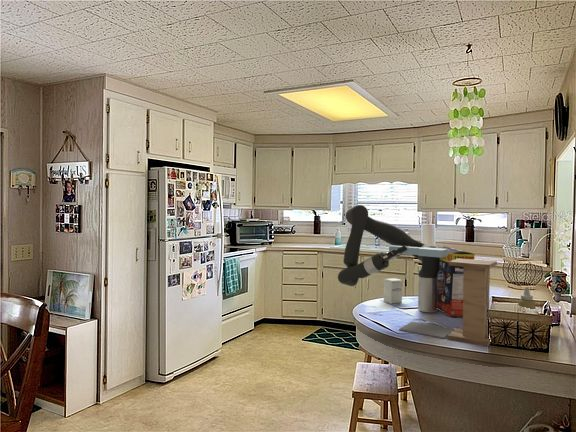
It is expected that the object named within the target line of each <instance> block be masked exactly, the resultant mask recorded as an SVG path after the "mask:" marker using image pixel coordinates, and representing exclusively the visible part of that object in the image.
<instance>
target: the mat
mask: <svg viewBox="0 0 576 432" xmlns="http://www.w3.org/2000/svg"><path fill="white" fill-rule="evenodd" d="M455 329H456V328H453V327H448V326H447V327H446V326H441V325H435V324H430V323H429V324H428V323H423V322H416V321H410V322H408V323H407V324H405V325H404V326H402V327H400V328H399V329H398V330H399V331H400V332H406V333H407V332H408V333H410V334H411V333H412V334H418V335H422V336H428V337H433V338H439V339H446V338H448V334H450V333H451V332H452V331H453V330H455Z"/></svg>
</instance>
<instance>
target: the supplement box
mask: <svg viewBox="0 0 576 432" xmlns="http://www.w3.org/2000/svg"><path fill="white" fill-rule="evenodd" d="M383 302H385V303H389V304H390V305H391V304H398V303H399V304H401V303H402V302H403V279H399V278H396V277H394V278H392V277H391V278H384V279H383Z"/></svg>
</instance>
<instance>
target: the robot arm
mask: <svg viewBox="0 0 576 432" xmlns="http://www.w3.org/2000/svg"><path fill="white" fill-rule="evenodd" d="M345 218H346V221H347V222H348V223H349V224H350V225H351V229H350V233H349V236H348V239H347V242H346V244H345V248H344V254H343V259H342V260H343V264H344V265H345V266H346V267H344V268H343V269H342V270H340V271H339V272H338V273H337V280H338V282H339V283H340V284H343V285H345V286H349V287H355V286H356V285H357V284H358V282H359V279H366V278H368V277H369V276H371V275H373V274H376V273H378V272H381V271H383V270H385V269H386V268H388V267H389V266H390V263H389V262H392V261H394V260H395V259H398V258H399V257H401V256H402V255H403V254H400V253H402V252H404V251H406V250H407V247H421V248H424V247H428V248H437V247H436V246H433V245H429V244H425V243H423V242H420V241H418V240H415V238H412V237H411V236H410V235H409V234H407V232H406V231H404V230H403V229H401V228H399V227H397V226H396V225H393V224H392V223H389V222H384V221H382V220H377V219H374V218H372V217H371V216H369V211H368V208H367V207H366V206H365V205H362V204H356V205H353V206H352V207H350V208H349V209H348V210H347V211H346V212H345ZM364 231H366V232H368V233H369V234H370V235H373V236H374V237H376V238H378V239H380V240H382V241H383V242H386V243H387V244H388V245H390V246H392V245H393V246H402V247H400V248H398V249H395V250H392V251H390V252H389V251H387V252H385V253H383V252H381V251H379V252H377V253H375V254H374V255H371V256H370V257H368V258H367V259H365V260H363V261H362V262H359V258H360V250H361V245H362V244H361V243H362V239H363V235H364ZM406 246H407V247H406ZM412 256H413V257H414V258H415V259H417V260H418V261H420V262H421V268H420V270H419V271H418V278H417V279H418V287H417V288H418V291H417V292H418V293H417V294H418V297H417V298H418V300H417V310H418V311H420V312H424V313H436V312H438V309H437V277H438V272H439V266H440V257H428V256H418V255H412Z"/></svg>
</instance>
